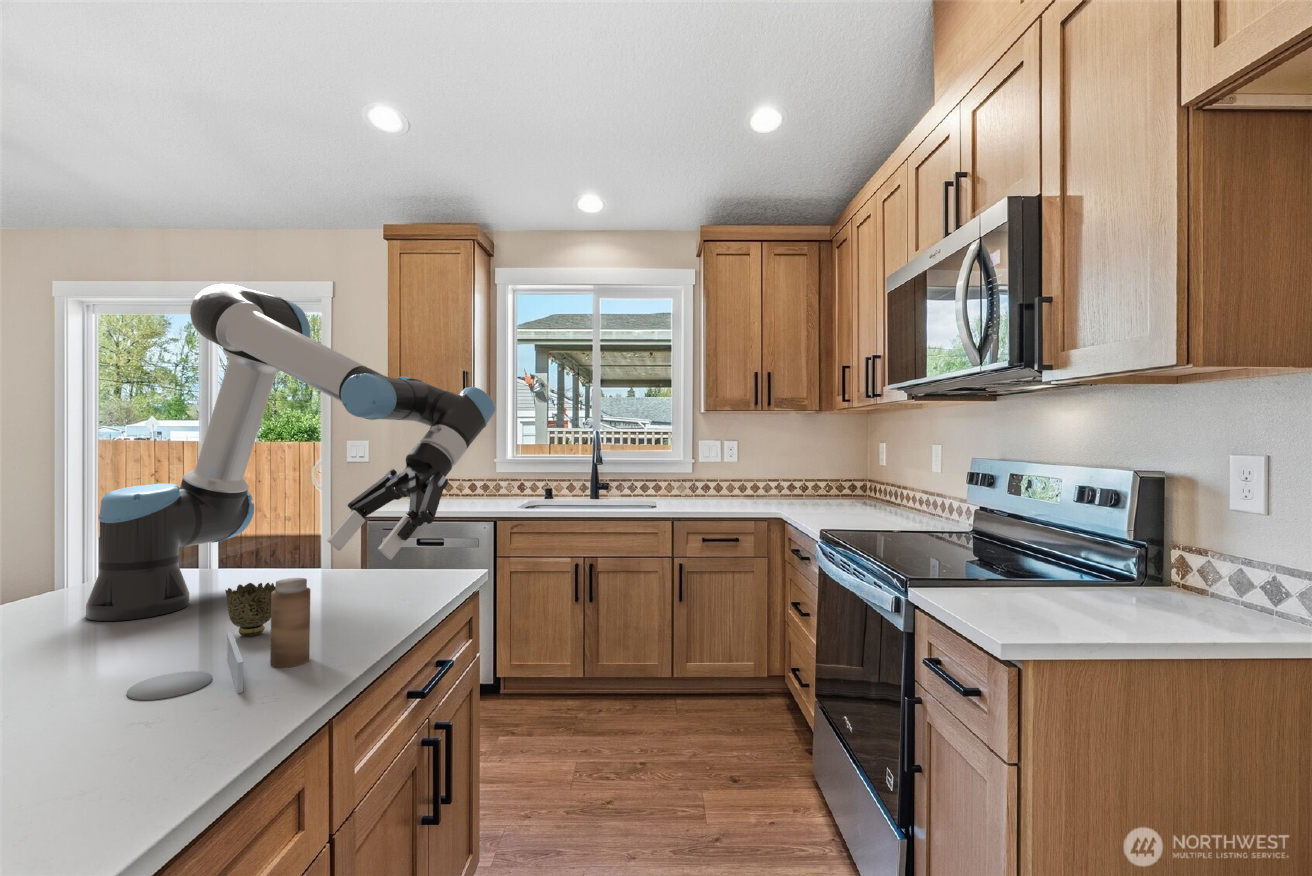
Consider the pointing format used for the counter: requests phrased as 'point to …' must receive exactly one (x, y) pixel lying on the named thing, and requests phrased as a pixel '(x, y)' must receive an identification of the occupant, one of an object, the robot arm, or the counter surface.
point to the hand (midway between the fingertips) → (357, 550)
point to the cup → (250, 607)
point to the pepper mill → (290, 623)
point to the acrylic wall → (235, 662)
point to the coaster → (169, 685)
